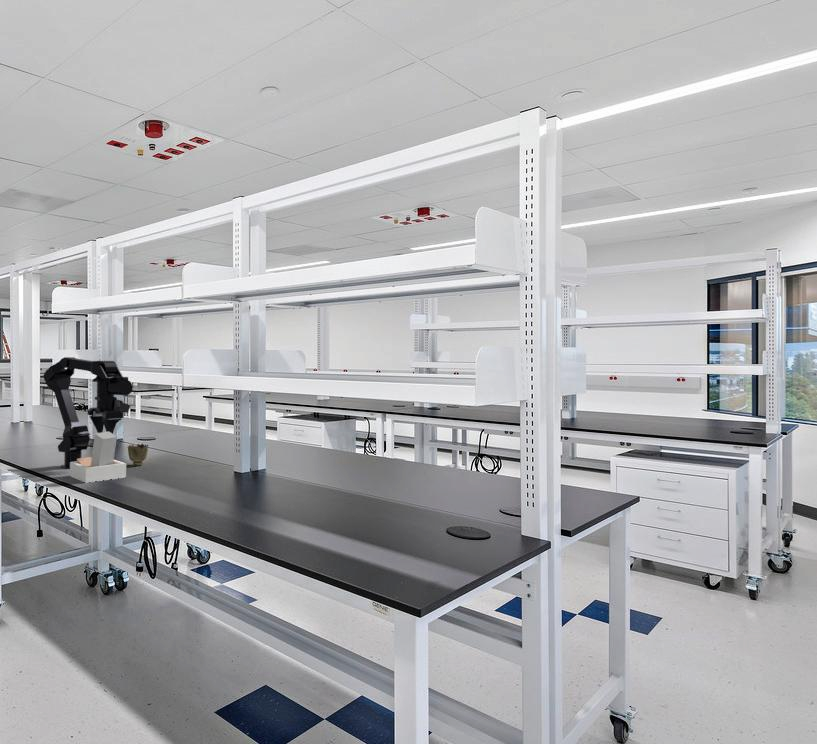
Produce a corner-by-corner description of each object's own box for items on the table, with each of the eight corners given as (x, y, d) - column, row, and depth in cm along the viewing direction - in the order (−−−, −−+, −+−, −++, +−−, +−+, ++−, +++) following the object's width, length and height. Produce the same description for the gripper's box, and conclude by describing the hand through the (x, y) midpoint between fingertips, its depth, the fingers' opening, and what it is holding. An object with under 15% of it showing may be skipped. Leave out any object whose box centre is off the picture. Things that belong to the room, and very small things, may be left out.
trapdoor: (75, 468, 204) (76, 458, 204) (105, 465, 212) (106, 455, 211) (87, 484, 197) (88, 473, 196) (117, 479, 204) (119, 469, 204)
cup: (130, 467, 221) (130, 447, 220) (125, 464, 226) (125, 444, 226) (150, 465, 225) (150, 445, 225) (145, 462, 231) (145, 443, 231)
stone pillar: (90, 466, 201) (94, 433, 198) (104, 463, 205) (108, 431, 202) (98, 472, 198) (102, 439, 196) (112, 469, 203) (116, 436, 200)
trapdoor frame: (69, 476, 204) (69, 462, 204) (109, 471, 214) (109, 457, 214) (85, 483, 194) (85, 468, 194) (126, 477, 204) (126, 463, 203)
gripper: (138, 395, 214) (137, 436, 214) (117, 392, 226) (117, 431, 227) (106, 396, 206) (106, 439, 206) (87, 393, 218) (87, 433, 218)
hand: (105, 435), depth 215 cm, fingers open, 9 cm apart
